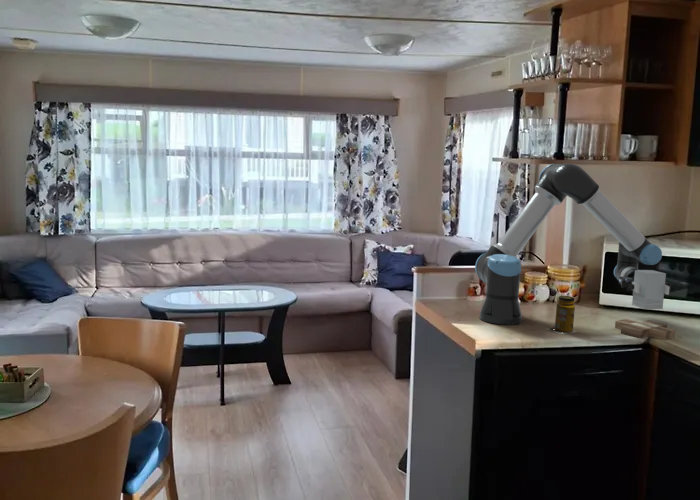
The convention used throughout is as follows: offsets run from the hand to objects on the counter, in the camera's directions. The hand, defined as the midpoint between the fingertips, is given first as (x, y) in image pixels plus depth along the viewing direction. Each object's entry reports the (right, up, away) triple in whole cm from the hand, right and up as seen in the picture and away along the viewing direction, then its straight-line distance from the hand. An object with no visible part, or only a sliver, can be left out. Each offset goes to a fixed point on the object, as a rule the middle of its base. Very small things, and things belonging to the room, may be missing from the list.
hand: (653, 289), depth 221 cm
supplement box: (0, -7, +5) cm, 9 cm away
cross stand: (0, -15, +7) cm, 17 cm away
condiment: (-30, -15, +5) cm, 33 cm away
